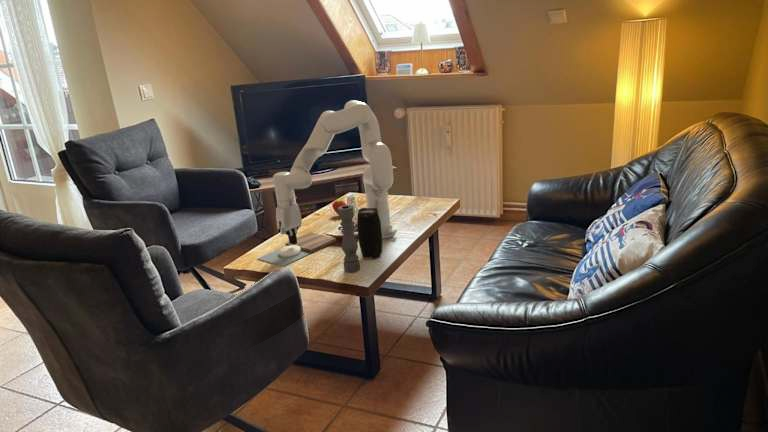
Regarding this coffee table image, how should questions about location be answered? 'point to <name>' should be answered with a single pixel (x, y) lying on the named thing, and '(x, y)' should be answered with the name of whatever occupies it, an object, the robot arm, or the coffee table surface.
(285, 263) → the mat
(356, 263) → the candle holder
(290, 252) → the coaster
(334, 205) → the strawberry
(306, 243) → the riser
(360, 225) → the portable speaker
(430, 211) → the coffee table surface
